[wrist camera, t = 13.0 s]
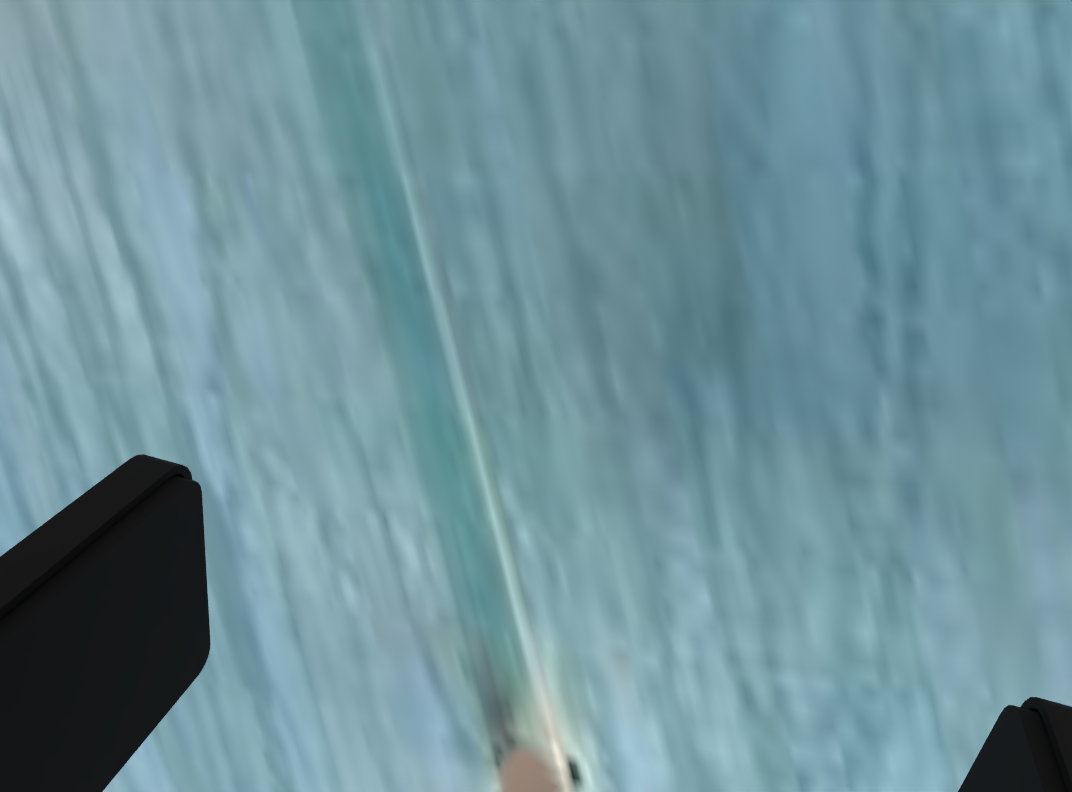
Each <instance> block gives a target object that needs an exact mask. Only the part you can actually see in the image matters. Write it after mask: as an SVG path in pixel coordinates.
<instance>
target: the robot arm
mask: <svg viewBox="0 0 1072 792" xmlns="http://www.w3.org/2000/svg"><path fill="white" fill-rule="evenodd" d="M209 650H210V629H209V611H208V594H207V576H206V559H205V541H204V523H203V506H202V491H201V487H200V485H199V483H198V482H196V481H193V480H192V476H191V472H190V471H189V469H188V468H187V467H185V466H183V465H180V464H177V463H173V462H169V461H166V460H162V459H158V458H154V457H151V456H147V455H136V456H135V457H133V458H131V459H129V460H128V461H127V462H125V463H124V464H123V465H121V466H120V467H119V468H117V469H116V470H115V471H113V472H112V473H111V474H109V475H108V476H107V477H105V478H104V479H103V480H101V481H100V482H99V483H97V484H96V485H95V486H93V487H92V488H91V489H89V490H88V491H87V492H85V493H84V494H83V495H82V496H80V497H79V498H78V499H76V500H75V501H74V502H72V503H71V504H70V505H68V506H67V507H66V508H64V509H63V510H62V511H60V512H59V513H58V514H56V515H55V516H54V517H52V518H51V519H50V520H48V521H47V522H46V523H44V524H43V525H42V526H40V527H39V528H38V529H36V530H35V531H34V532H32V533H31V534H30V535H28V536H27V537H26V538H24V539H23V540H22V541H21V542H19V543H18V544H17V545H15V546H14V547H13V548H11V549H10V550H9V551H7V552H6V553H5V554H3V555H2V556H1V557H0V792H102V791H103V790H104V789H105V788H106V786H107V785H108V784H109V783H110V782H111V780H112V779H113V778H114V777H115V776H116V774H117V773H118V772H119V771H120V770H121V768H122V767H123V766H124V765H125V763H126V762H127V761H128V760H129V759H130V757H131V756H132V755H133V754H134V753H135V751H136V750H137V749H138V748H139V746H140V745H141V744H142V743H143V742H144V740H145V739H146V738H147V737H148V736H149V734H150V733H151V732H152V731H153V730H154V728H155V727H156V726H157V725H158V723H159V722H160V721H161V720H162V719H163V717H164V716H165V715H166V714H167V713H168V711H169V710H170V709H171V708H172V706H173V705H174V704H175V703H176V702H177V700H178V699H179V698H180V697H181V696H182V694H183V693H184V692H185V691H186V690H187V688H188V687H189V686H190V685H191V683H192V682H193V681H194V680H195V679H196V677H197V676H198V675H199V673H200V672H201V671H202V669H203V667H204V665H205V663H206V660H207V658H208V655H209ZM958 792H1072V707H1070V706H1067V705H1063V704H1059V703H1056V702H1052V701H1048V700H1044V699H1041V698H1037V697H1030V698H1029V699H1027V700H1026V701H1025V702H1024V703H1023V704H1022V706H1021V707H1017V706H1013V705H1008V706H1007V707H1005V708H1004V710H1003V711H1002V712H1001V714H1000V716H999V717H998V719H997V721H996V723H995V725H994V727H993V729H992V730H991V732H990V734H989V736H988V738H987V740H986V741H985V743H984V745H983V747H982V749H981V751H980V752H979V754H978V756H977V758H976V760H975V762H974V763H973V765H972V767H971V769H970V771H969V773H968V774H967V776H966V778H965V780H964V782H963V784H962V785H961V787H960V789H959V791H958Z"/></svg>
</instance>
